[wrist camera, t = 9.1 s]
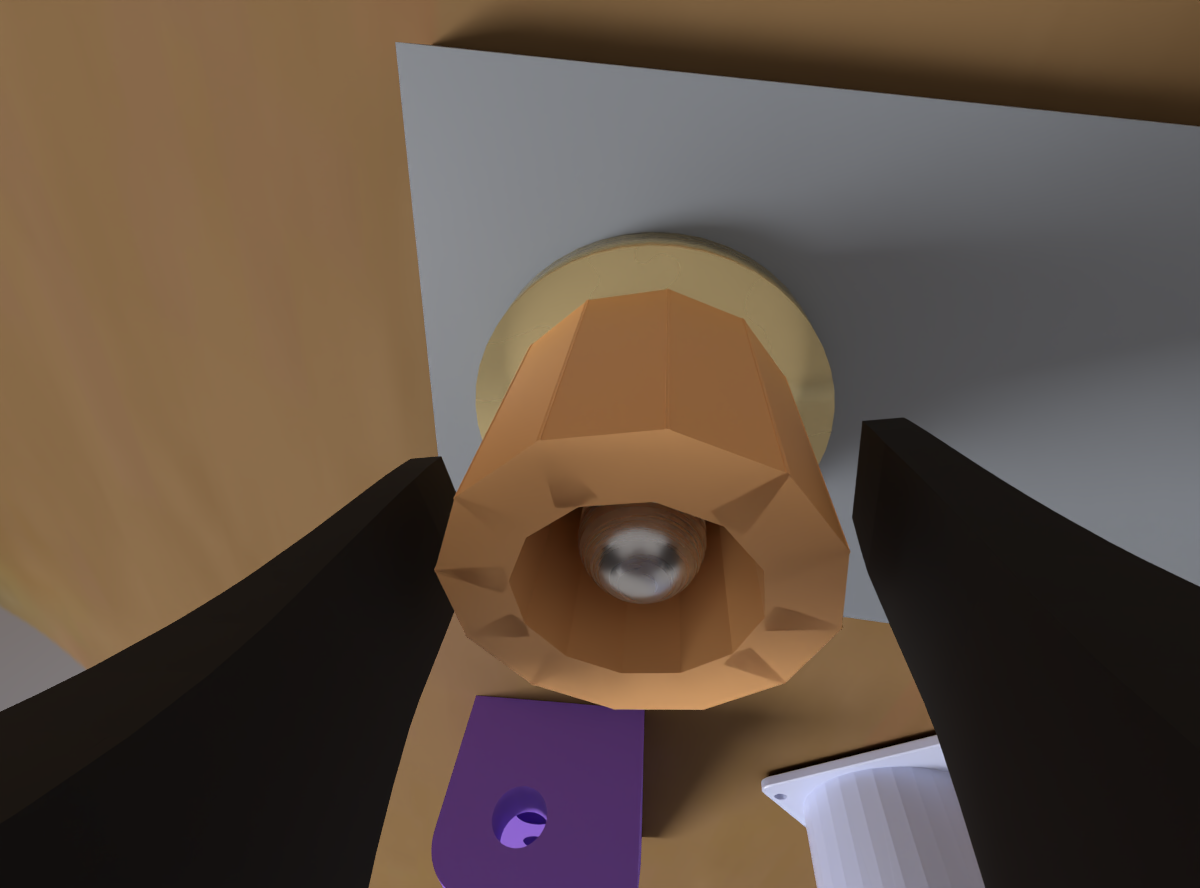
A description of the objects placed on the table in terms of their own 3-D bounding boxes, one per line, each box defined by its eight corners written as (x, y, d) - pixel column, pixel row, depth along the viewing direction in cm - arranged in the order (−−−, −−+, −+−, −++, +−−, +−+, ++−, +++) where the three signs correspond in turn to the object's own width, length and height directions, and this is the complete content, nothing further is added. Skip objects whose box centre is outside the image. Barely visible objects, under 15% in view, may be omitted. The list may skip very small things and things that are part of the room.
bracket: (478, 687, 23) (415, 892, 17) (644, 701, 22) (635, 920, 16) (514, 815, 30) (477, 992, 24) (641, 829, 29) (634, 1014, 23)
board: (1844, 193, 9) (2794, 297, 5) (1273, 637, 16) (1480, 833, 12) (428, 44, 10) (262, 30, 6) (465, 525, 17) (399, 672, 13)
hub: (884, 432, 12) (1003, 639, 8) (624, 563, 15) (606, 760, 11) (692, 140, 9) (711, 206, 5) (422, 373, 12) (290, 538, 8)
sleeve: (843, 357, 10) (945, 530, 6) (708, 550, 13) (723, 742, 9) (561, 244, 9) (490, 361, 6) (489, 475, 12) (412, 648, 9)
